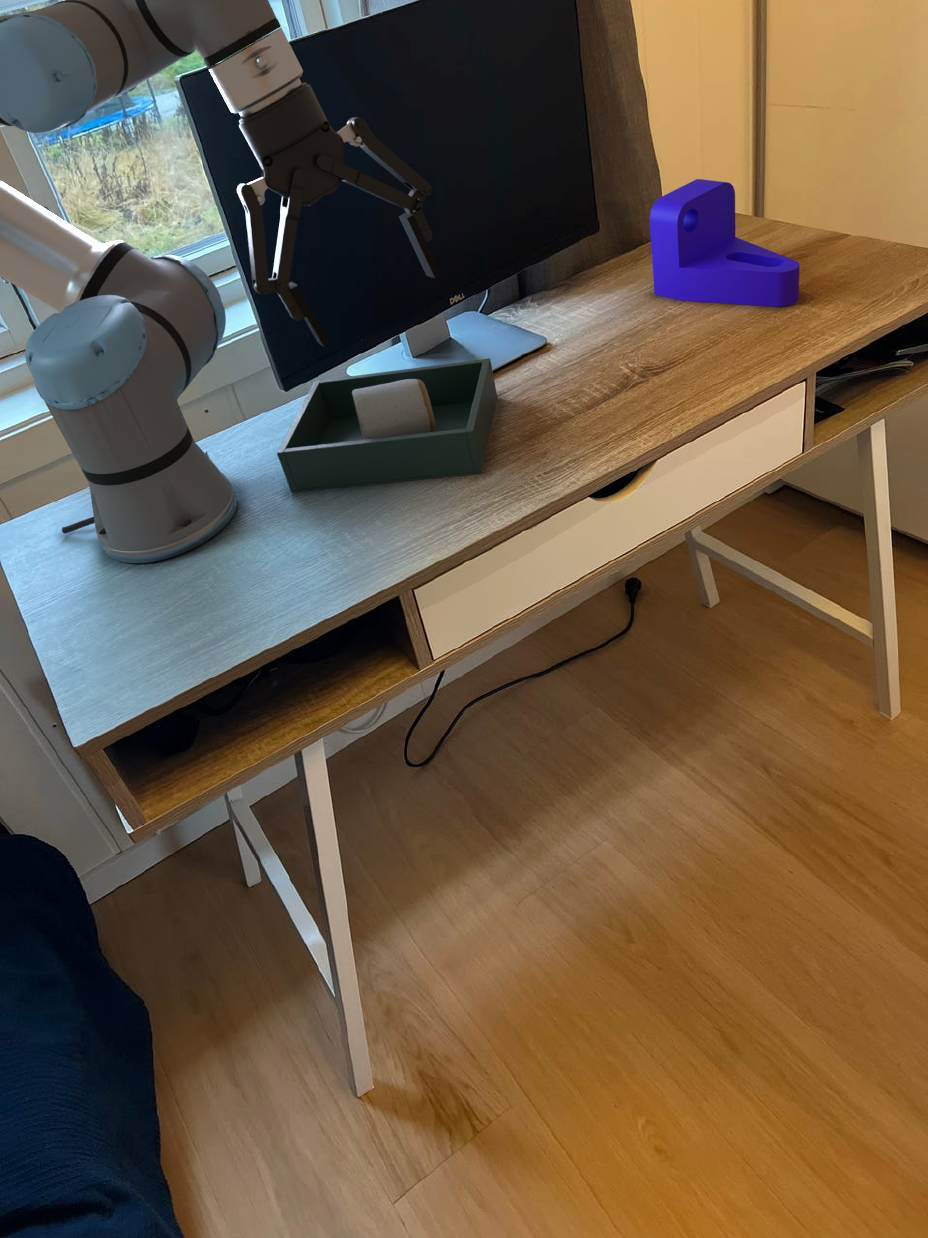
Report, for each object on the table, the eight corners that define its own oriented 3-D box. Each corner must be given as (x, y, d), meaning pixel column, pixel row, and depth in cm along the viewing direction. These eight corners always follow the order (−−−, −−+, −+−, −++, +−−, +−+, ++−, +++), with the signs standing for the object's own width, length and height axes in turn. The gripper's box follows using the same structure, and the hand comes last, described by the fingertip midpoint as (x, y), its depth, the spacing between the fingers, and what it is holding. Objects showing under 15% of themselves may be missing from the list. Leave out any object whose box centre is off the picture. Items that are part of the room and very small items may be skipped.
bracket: (654, 294, 124) (648, 202, 116) (708, 263, 128) (706, 173, 120) (766, 320, 111) (768, 220, 104) (822, 286, 116) (828, 187, 108)
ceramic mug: (444, 449, 102) (428, 386, 98) (372, 471, 102) (354, 408, 97) (424, 411, 111) (409, 350, 106) (358, 430, 110) (340, 370, 105)
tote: (291, 492, 102) (276, 453, 99) (326, 417, 115) (314, 380, 112) (482, 473, 98) (473, 431, 94) (497, 397, 110) (490, 358, 107)
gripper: (157, 168, 80) (285, 379, 92) (397, 26, 83) (492, 250, 94) (149, 166, 87) (270, 364, 98) (373, 34, 89) (465, 244, 101)
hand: (379, 309), depth 96 cm, fingers open, 13 cm apart
